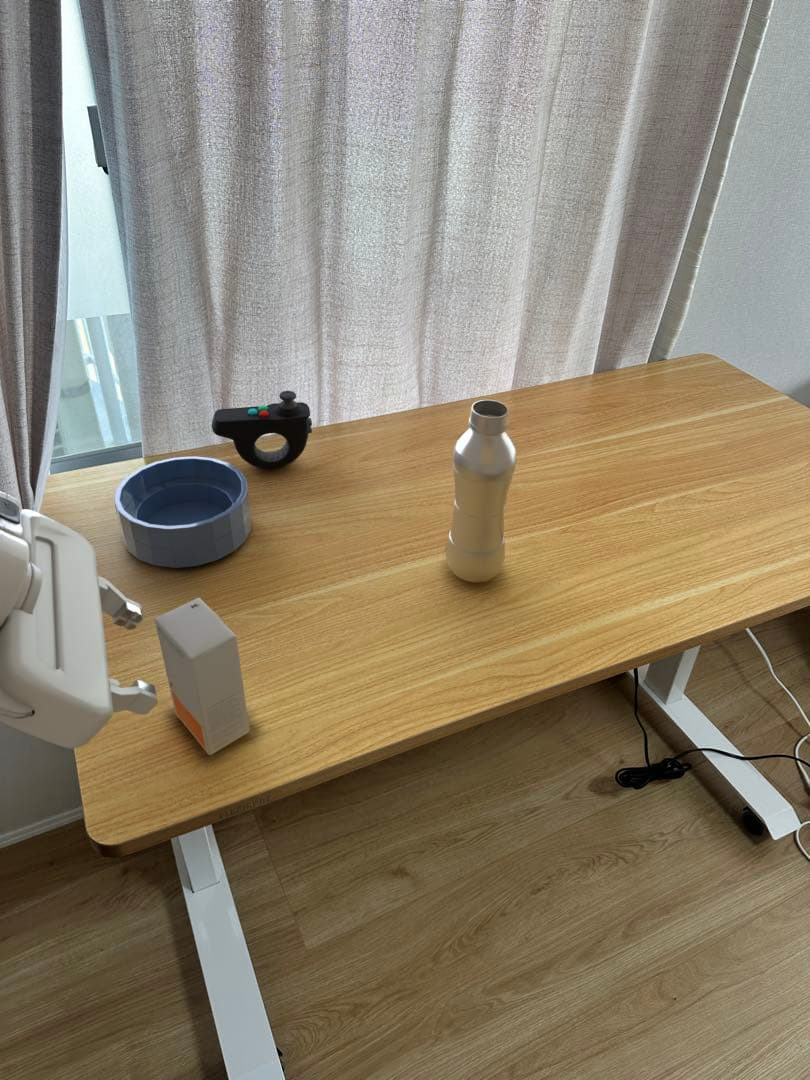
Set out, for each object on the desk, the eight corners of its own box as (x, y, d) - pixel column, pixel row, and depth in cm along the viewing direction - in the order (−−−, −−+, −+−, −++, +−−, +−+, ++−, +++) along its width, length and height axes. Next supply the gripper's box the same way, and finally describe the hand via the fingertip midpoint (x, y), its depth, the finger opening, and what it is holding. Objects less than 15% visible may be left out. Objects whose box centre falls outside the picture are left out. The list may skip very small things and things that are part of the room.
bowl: (141, 587, 85) (131, 542, 81) (112, 516, 95) (102, 473, 91) (269, 551, 90) (265, 507, 87) (229, 487, 100) (223, 446, 97)
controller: (315, 470, 104) (312, 400, 98) (217, 478, 102) (208, 408, 96) (311, 452, 107) (308, 384, 101) (216, 460, 105) (207, 391, 99)
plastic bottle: (459, 595, 85) (474, 431, 73) (434, 558, 90) (445, 397, 78) (513, 583, 87) (537, 420, 75) (486, 546, 92) (504, 388, 80)
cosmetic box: (173, 715, 71) (152, 616, 64) (216, 692, 74) (199, 594, 66) (208, 759, 68) (190, 659, 61) (252, 733, 70) (239, 634, 63)
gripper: (-9, 663, 46) (190, 731, 54) (-1, 477, 61) (154, 553, 69) (-71, 735, 47) (133, 790, 56) (-47, 535, 62) (110, 603, 71)
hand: (144, 657), depth 63 cm, fingers open, 8 cm apart
